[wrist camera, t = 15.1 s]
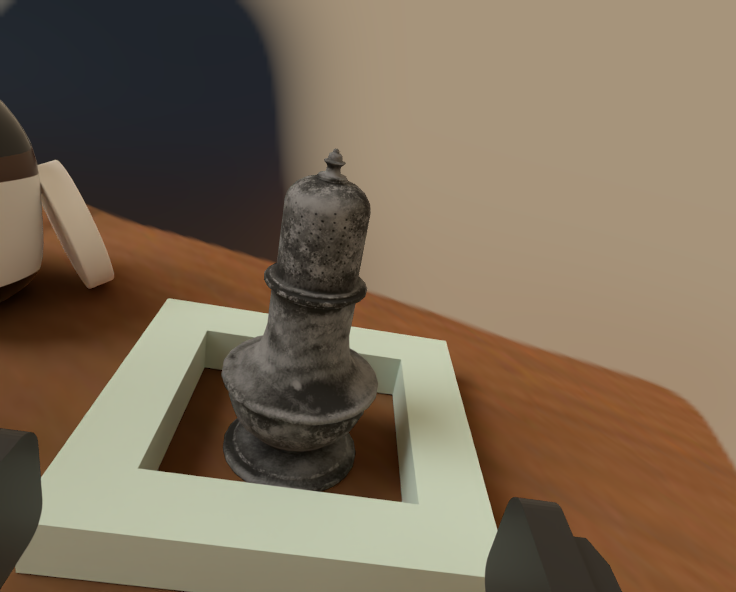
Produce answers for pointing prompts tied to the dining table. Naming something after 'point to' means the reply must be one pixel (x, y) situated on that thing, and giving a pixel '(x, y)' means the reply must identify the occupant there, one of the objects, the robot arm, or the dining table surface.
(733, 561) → the dining table surface
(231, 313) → the light green square frame
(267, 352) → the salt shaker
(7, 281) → the spread jar
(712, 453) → the dining table surface
